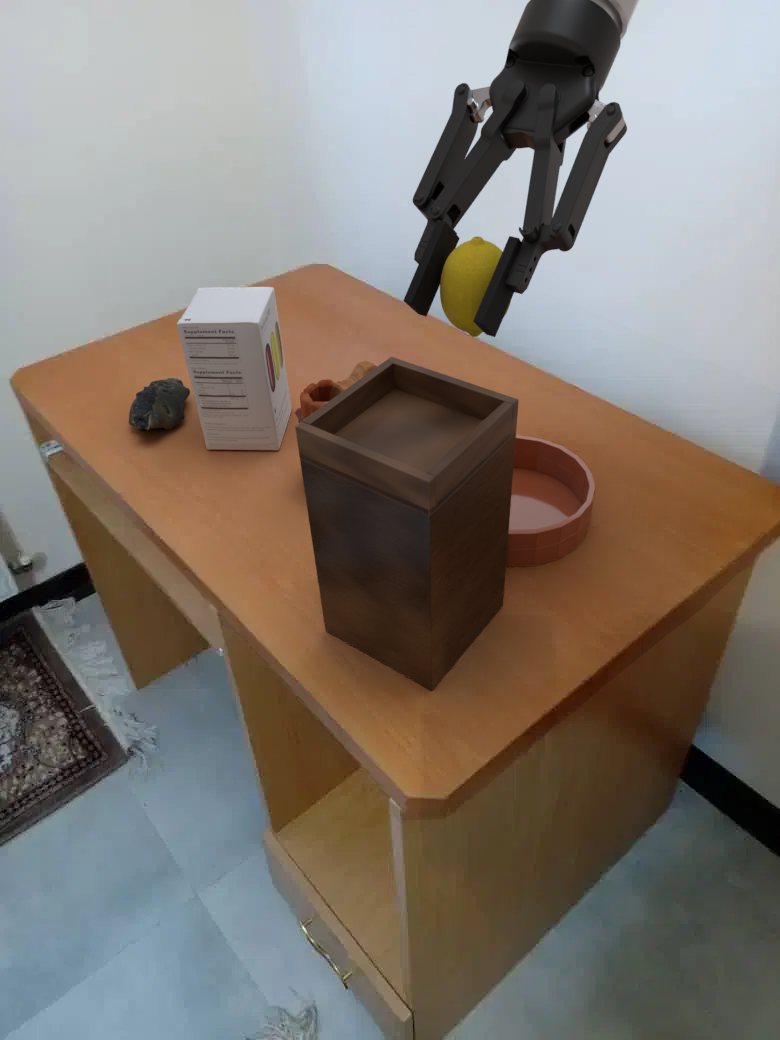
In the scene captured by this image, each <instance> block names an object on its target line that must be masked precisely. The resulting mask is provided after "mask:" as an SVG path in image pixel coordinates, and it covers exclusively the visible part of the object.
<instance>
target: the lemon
mask: <svg viewBox="0 0 780 1040" xmlns="http://www.w3.org/2000/svg"><path fill="white" fill-rule="evenodd" d="M502 252H503V250H502V249H501V248H500V247H499V246H497V245H496V244H495V243H493V242H491V241H488V240H485V239H484V238H483V237H482V236H480V235H479V236H477V235H476V236H473V237H472V238H471V239H470V240H467V241H464V242H461V244H459V245H457V246H456V248H455V249H454V250H453V251H452V252H451V253H450V255H449V256H448V258H447V260H446V262H445V264H444V267H443V270H442V274H441V280H440V286H439V296H440V298H439V299H440V304H441V308H442V311H443V313H444V316H445V317H446V318H447V320H448V322H449V323H450V324H452V325H453V326H454V327H455V328H456V329H458V330H459V331H461V332H464V333H467V334H469V336H471V337H472V338H477V337H479V336H480V335H481V334H482V333H484V332H483V331H482V330H481V329H480V328H479V327H478V326H477V325H476V324H475V323H474V322H473V320H474V318H475V316H476V313H477V311H478V309H479V306H480V304H481V302H482V299H483V297H484V295H485V292H486V290H487V288H488V285H489V283H490V281H491V278H492V276H493V273H494V271H495V269H496V266H497V264H498V262H499V259H500V257H501V255H502ZM511 302H512V300H511V301H510V303H509V306H508V308H507V310H506V313H505V315H504V317H503V319H504V318H505V316H506V315H507V313H508V311H509V310H510V309H509V308H510V306H511Z"/></svg>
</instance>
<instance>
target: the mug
mask: <svg viewBox="0 0 780 1040" xmlns="http://www.w3.org/2000/svg"><path fill="white" fill-rule="evenodd" d="M377 366H378V365H376V364H375V363H374V362H371V361H369V360H361V361H360V362H358V363H357V364H356V365H355V367H354V368H353V370H352V371H351V373H350V375H349V376H348V377H347V378H346V379H344V380H343V381H340V380H339V381H336V382H335V381H333V380H332V379H321V380H319V381H318V382H317V383H314V382H312V383H311V382H310V383H309V384H308V385H307V386H306V388H304V389H303V391H301V393H300V395H299V403H300V407H299V408H297V409H296V410H295V411H294V414H295V417H296V418H297V421H298V424H299V423H300V422H302V421H303V420H304V419H306V418H307V417H308V416H310V415H311V414H312V413H314V412H315V411H317V410H318V409H319V408H321V407H322V406H324V405H325V404H326V403H328V402H329V401H330V400H332V399H333V398H335V397H336V396H337V395H339V394H340V393H341V392H343V391H344V390H346V389H347V388H348V387H350V386H351V385H353V384H354V383H355V382H357V381H358V380H359V379H361V378H362V377H364V376H365V375H366V374H368V373H369V372H371V371H372V370H373V369H375V368H376V367H377Z"/></svg>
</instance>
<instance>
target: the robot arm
mask: <svg viewBox="0 0 780 1040" xmlns="http://www.w3.org/2000/svg"><path fill="white" fill-rule="evenodd" d="M640 1H641V0H529V1H528V2H527V3H526V5H525V7H524V9H523V11H522V14H521V16H520V19H519V21H518V23H517V26H516V28H515V30H514V33H513V35H512V37H511V40H510V42H509V45H508V49H507V53H506V60H505V64H504V66H503V68H502V69H501V71H500V72H499V73H498V74H497V76H496V77H494V78H493V80H492V81H491V83H490V85H489V86H485V87H480V88H475V89H471V87H470V86H469V84H468V83H466V82H462V83H459V84H458V85H457V86H456V87H455V89H454V92H453V100H452V106H451V107H452V108H451V112H450V116H449V117H448V120H447V122H446V124H445V126H444V128H443V130H442V133H441V135H440V137H439V139H438V142H437V144H436V146H435V149H434V150H433V153H432V155H431V157H430V159H429V161H428V163H427V165H426V168H425V170H424V172H423V174H422V177H421V178H420V181H419V183H418V185H417V187H416V190H415V192H414V194H413V197H412V204H413V205H414V207H415V208H416V209H417V210H418V211H419V212H420V213H421V214H422V215H423V217H424V218H425V219H426V220H427V222H426V225H425V226H424V227H425V228H424V230H423V232H422V235H421V237H420V240H419V241H418V244H417V247H416V249H415V251H414V254H413V255H414V257H413V260H414V261H415V262H416V263H417V264H418V265H417V267H416V270H415V272H414V274H413V277H412V279H411V282H410V284H409V286H408V289H407V290H406V292H405V295H404V298H403V302H404V303H405V304H406V305H407V306H409V307H410V308H411V309H412V310H413V311H414V312H415V313H417V314H418V315H419V316H423V317H427V316H428V314H429V311H430V309H431V307H432V305H433V302H434V299H435V297H436V295H437V293H438V291H439V289H440V280H441V274H442V270H443V267H444V264H445V262H446V260H447V258H448V256H449V255H450V253H451V252H452V251H453V250H454V249H455V248H457V247H458V244H459V241H460V239H461V238H460V237H459V235H458V232H457V231H456V230H455V229H456V226H457V225H458V224H459V223H460V221H461V220H462V219H463V217H464V216H465V215H466V213H467V212H468V210H469V209H470V207H471V206H472V204H474V202H475V201H476V199H477V198H478V197H479V195H480V194H481V192H482V190H483V189H484V188H485V186H486V185H487V184H488V182H489V181H490V180H491V178H492V177H493V175H494V174H495V172H496V171H497V170H498V168H499V167H500V166H501V164H502V163H503V162H504V161H508V160H510V159H511V157H512V156H513V154H514V153H515V151H516V150H517V149H527V148H529V149H531V150H533V157H532V164H531V170H530V177H529V183H528V184H529V185H528V191H527V197H526V203H525V210H524V217H523V223H522V227H520V226H519V227H518V232H519V234H520V235H521V237H522V239H521V238H520V237H516V236H511V235H509V236H508V239H507V241H506V243H505V245H504V247H503V250H502V255H501V257H500V259H499V262H498V264H497V266H496V269H495V271H494V273H493V276H492V278H491V281H490V283H489V285H488V288H487V290H486V292H485V295H484V297H483V299H482V302H481V304H480V306H479V309H478V311H477V313H476V316H475V318H474V320H473V322H474V323H475V324H476V325H477V326H478V327H479V328H480V329H481V330H482V331H483V332H482V333H484V334H485V335H486V336H489V337H493V338H495V337H496V336H497V334H498V332H499V329H500V327H501V325H502V322H503V320H504V318H505V316H506V315H505V313H506V310H507V308H508V306H509V303H510V304H511V302H512V298H513V296H514V294H519V295H523V294H524V293H525V292H526V291H527V290H528V288H529V286H530V283H531V281H532V278H533V275H534V274H535V271H536V269H537V267H538V265H539V262H540V259H542V256H543V255H544V254H545V253H546V252H549V251H555V250H556V251H557V250H559V251H560V252H564V253H565V252H568V251H570V250H571V249H572V248H573V247H574V245H575V244H576V243H575V242H576V240H577V237H578V235H579V233H580V230H581V227H582V225H583V223H584V220H585V217H586V215H587V213H588V210H589V208H590V205H591V203H592V199H593V197H594V195H595V191H596V189H597V187H598V184H599V181H600V180H601V179H600V178H601V176H602V174H603V171H604V168H605V166H606V163H607V162H608V158H609V156H610V154H611V153H612V151H614V149H615V148H616V147H617V145H618V144H619V142H620V141H621V140H622V139H623V137H624V136H625V135H626V133H627V131H628V126H627V124H626V123H627V122H626V120H625V116H624V113H623V111H622V108H621V105H620V103H618V102H616V101H611V102H609V103H607V104H605V103H604V102H601V101H600V92H601V91H602V89H603V88H604V85H606V81H607V79H608V77H609V74H610V72H611V70H612V68H613V65H614V63H615V61H616V58H617V56H618V53H619V51H620V49H621V44H622V43H621V42H622V40H623V38H624V37H625V35H626V33H627V32H628V29H629V27H630V24H631V22H632V20H633V18H634V15H635V13H636V10H637V8H638V5H639V3H640ZM489 108H491V109H492V112H491V114H490V115H489V116H488V118H487V119H486V121H485V115H486V112H487V110H489ZM484 121H485V122H484ZM483 122H484V123H483ZM479 124H483V125H482V127H481V128H480V135H479V138H478V140H476V142H475V144H474V145H473V147H472V148H471V146H472V143H473V141H474V139H475V137H476V134H477V131H478V127H479ZM585 125H586V132H585V133H584V136H583V138H582V141H581V144H580V146H579V149H578V151H577V153H576V156H575V159H574V162H573V164H572V166H571V170H570V171H569V175H568V177H567V179H566V182H565V185H564V187H563V189H562V192H561V195H560V197H559V200H558V203H557V205H556V207H555V202H556V196H557V189H558V183H559V177H560V170H561V169H560V168H561V167H562V166H563V164H564V157H565V150H566V144H567V139H569V137H571V136H572V135H573V134H575V133H576V132H577V131H578V130H580V129H581V128H583V127H584V126H585ZM469 150H470V151H469ZM510 301H511V302H510ZM509 307H510V306H509ZM506 314H507V313H506ZM504 315H505V316H504ZM503 317H504V318H503Z"/></svg>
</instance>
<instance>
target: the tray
mask: <svg viewBox="0 0 780 1040" xmlns="http://www.w3.org/2000/svg"><path fill="white" fill-rule="evenodd" d="M376 366H377V367H376V368H375V369H373V370H372V371H371V372H369V373H368V374H366V375H365V376H364V377H362V378H361V379H359V380H358V381H357V382H355V383H354V384H353V385H351V386H350V387H348V388H347V389H346V390H344V391H343V392H341V393H340V394H339V395H337V396H336V397H335V398H333V399H332V400H330V401H329V402H328V403H326V404H325V405H324V406H322V407H321V408H319V409H318V410H317V411H315V412H314V413H312V414H311V415H310V416H308V417H307V418H306V419H304V420H303V421H302V422H300V423H299V422H298V423H297V424H296V425H295V426H294V429H295V436H296V442H297V448H298V455H299V460H300V459H302V460H304V461H307V462H309V463H311V464H314V465H316V466H318V467H320V468H323V469H325V470H327V471H329V472H332V473H334V474H336V475H338V476H341V477H343V478H345V479H348V480H350V481H352V482H354V483H357V484H359V485H361V486H363V487H366V488H368V489H370V490H372V491H375V492H377V493H379V494H381V495H384V496H386V497H388V498H391V499H393V500H395V501H397V502H400V503H402V504H404V505H406V506H409V507H411V508H413V509H415V510H418V511H420V512H422V513H425V514H427V515H431V514H432V513H433V512H434V511H435V510H436V509H437V508H438V507H439V506H440V505H441V504H442V503H443V502H444V501H445V500H446V499H447V498H448V497H449V496H450V495H451V494H452V493H453V492H454V491H455V490H456V489H457V488H458V487H460V486H461V485H462V484H463V483H464V482H465V481H466V480H467V479H468V478H469V477H470V476H471V475H472V474H473V473H474V472H475V471H476V470H477V469H478V468H479V467H480V466H481V465H482V464H483V463H484V462H485V461H486V460H487V459H488V458H489V457H491V456H492V455H493V454H494V453H495V452H496V451H497V450H498V449H499V448H500V447H501V446H502V445H503V444H504V443H505V442H506V441H507V440H508V439H509V438H510V437H511V436H512V435H513V434H514V433H515V432H516V433H517V427H518V413H519V401H520V399H519V398H516V397H513V396H510V395H507V394H504V393H501V392H498V391H495V390H492V389H489V388H486V387H483V386H480V385H477V384H474V383H471V382H468V381H465V380H462V379H459V378H457V377H453V376H450V375H448V374H444V373H442V372H438V371H435V370H432V369H429V368H427V367H424V366H421V365H417V364H415V363H412V362H409V361H406V360H404V359H400V358H396V357H394V356H390V357H388V358H387V359H386V360H384V361H383V362H381V363H380V364H378V365H376Z"/></svg>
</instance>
